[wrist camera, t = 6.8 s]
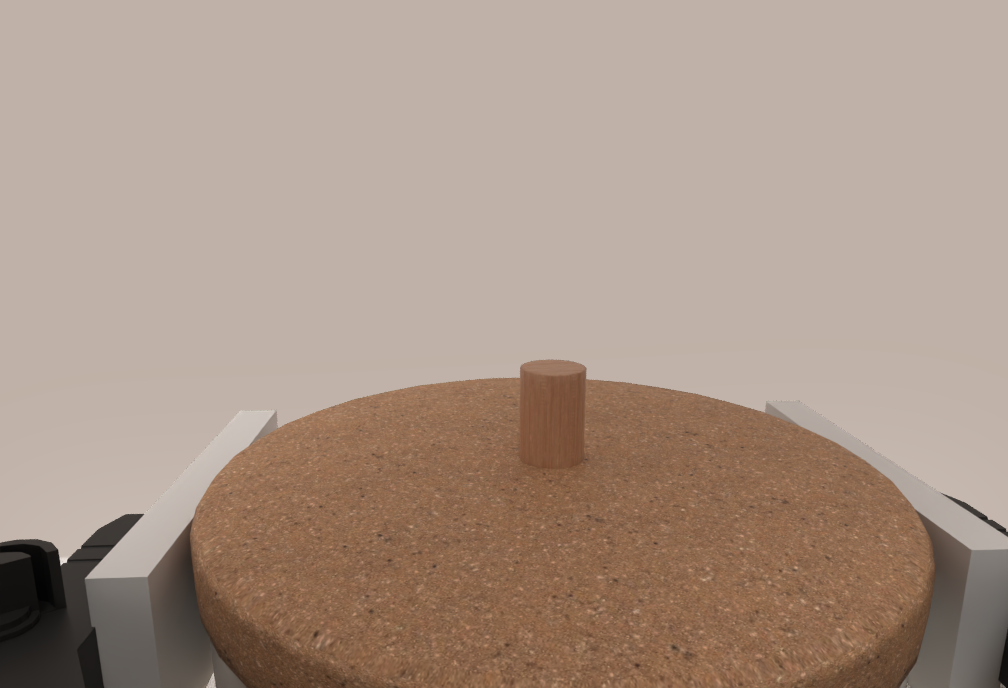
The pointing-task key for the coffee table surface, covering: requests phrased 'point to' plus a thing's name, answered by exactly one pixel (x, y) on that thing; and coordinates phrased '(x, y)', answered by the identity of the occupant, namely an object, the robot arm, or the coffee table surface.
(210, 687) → the coffee table surface
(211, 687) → the coffee table surface
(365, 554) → the lidded jar
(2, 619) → the robot arm
